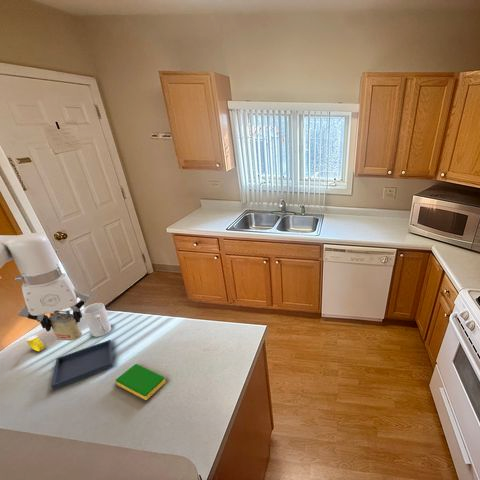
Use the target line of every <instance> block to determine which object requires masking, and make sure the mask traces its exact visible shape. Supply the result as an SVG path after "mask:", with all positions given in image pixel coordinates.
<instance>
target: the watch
mask: <svg viewBox="0 0 480 480" xmlns="http://www.w3.org/2000/svg"><path fill="white" fill-rule="evenodd" d="M26 342H27V344H28V346H29V347H30V348H31V349H32V350H33V351H36V352H41V351H43V350H44V349H45V345H44V343H43V342H42V341H41V340H40V339H39V336H38V335H37V334H33V335H31V336H29V337H27V338H26Z"/></svg>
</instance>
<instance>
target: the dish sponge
mask: <svg viewBox="0 0 480 480" xmlns="http://www.w3.org/2000/svg"><path fill="white" fill-rule="evenodd" d="M115 382H116V385H117V386H118V387H120V388H122V389H124V390H125V391H127V392H129V393H131V394H133V395H135V396H137V397H138V398H141V399H143V400H145V401H147V400H149V399H150V398H151V397H152V396H153V395H154V394H155V393H156V392H157V391H158V390H159V389H161V387H162V386H163V385H165V383H166V379H165V376H163V375H161V374H158V373H157V372H155V371H152V370H150V369H149V368H146V367H144V366H142V365H140V364H138V363H135V364H133V365H132V366H131V367H130V368H128V369H127V370H126V371H125V372H123V373H122V374H121V375H119V376H118V377H117V378H115Z"/></svg>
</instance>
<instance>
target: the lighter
mask: <svg viewBox="0 0 480 480" xmlns="http://www.w3.org/2000/svg"><path fill="white" fill-rule="evenodd" d="M48 318H49V322H50V325H51V329H52V331H53V333H54V335H55V337H56V340H58V341H70V342H71V341H76V340H77V339H80V338H81V337H82V336H83V333H82V331H81V329H80V326H79V324H78V323H77V322H76V320H75V318H74V315H73V313H71V311H70V310H58V311H55V312H51V313H49V316H48Z"/></svg>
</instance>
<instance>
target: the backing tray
mask: <svg viewBox="0 0 480 480" xmlns="http://www.w3.org/2000/svg"><path fill="white" fill-rule="evenodd" d="M55 360H56V361H55V364H54V369H53V370H54V371H53V375H52V380H51V381H52V382H51V387H52V389H53V391H55V390H58V389H60V388H62V387H66V386H68V385H70V384H73V383H76V382H78V381H80V380H83V379H85V378H88V377H91V376H93V375H95V374H99V373H101V372H103V371H106V370H108V369H111V368H113V366H114V362H113V343H112V340H111V339H108V340H105V341H103V342H99V343H97V344H94V345H90V346H88V347H85V348H82V349H78V350H77V351H73V352H71V353H67V354H65V355H62V356H59V357H56V359H55Z"/></svg>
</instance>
